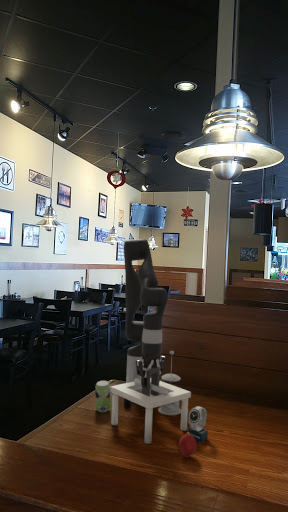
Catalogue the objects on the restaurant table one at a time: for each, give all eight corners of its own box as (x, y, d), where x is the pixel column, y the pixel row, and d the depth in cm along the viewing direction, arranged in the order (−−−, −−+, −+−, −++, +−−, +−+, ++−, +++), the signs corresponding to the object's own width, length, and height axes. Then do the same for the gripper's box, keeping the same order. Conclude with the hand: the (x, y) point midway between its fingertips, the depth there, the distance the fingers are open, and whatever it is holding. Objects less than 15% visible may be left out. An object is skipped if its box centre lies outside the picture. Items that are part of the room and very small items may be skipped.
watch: (184, 439, 141) (185, 408, 141) (196, 433, 147) (198, 402, 147) (198, 445, 137) (199, 412, 137) (210, 437, 143) (211, 406, 143)
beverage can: (111, 408, 168) (112, 379, 168) (108, 414, 161) (109, 384, 161) (96, 407, 169) (97, 378, 169) (92, 413, 161) (94, 383, 162)
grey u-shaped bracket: (152, 393, 154) (153, 364, 154) (158, 396, 152) (159, 366, 152) (141, 396, 150) (142, 366, 151) (147, 399, 148) (148, 369, 148)
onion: (176, 452, 131) (177, 428, 131) (194, 452, 131) (195, 428, 131) (179, 461, 125) (180, 435, 125) (198, 461, 125) (199, 435, 126)
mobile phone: (130, 397, 169) (130, 385, 184) (123, 397, 169) (124, 385, 184) (130, 409, 169) (130, 396, 184) (123, 408, 169) (123, 396, 184)
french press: (174, 416, 161) (177, 354, 162) (149, 410, 168) (152, 350, 168) (185, 409, 170) (187, 350, 170) (161, 403, 176) (163, 346, 176)
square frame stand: (149, 411, 166) (151, 372, 166) (189, 429, 150) (191, 386, 150) (108, 423, 152) (110, 381, 152) (147, 444, 136) (149, 397, 136)
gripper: (159, 337, 159) (157, 380, 159) (131, 340, 150) (129, 386, 149) (172, 340, 153) (170, 385, 153) (144, 344, 144) (142, 391, 144)
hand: (150, 385), depth 151 cm, fingers closed on grey u-shaped bracket, 5 cm apart
